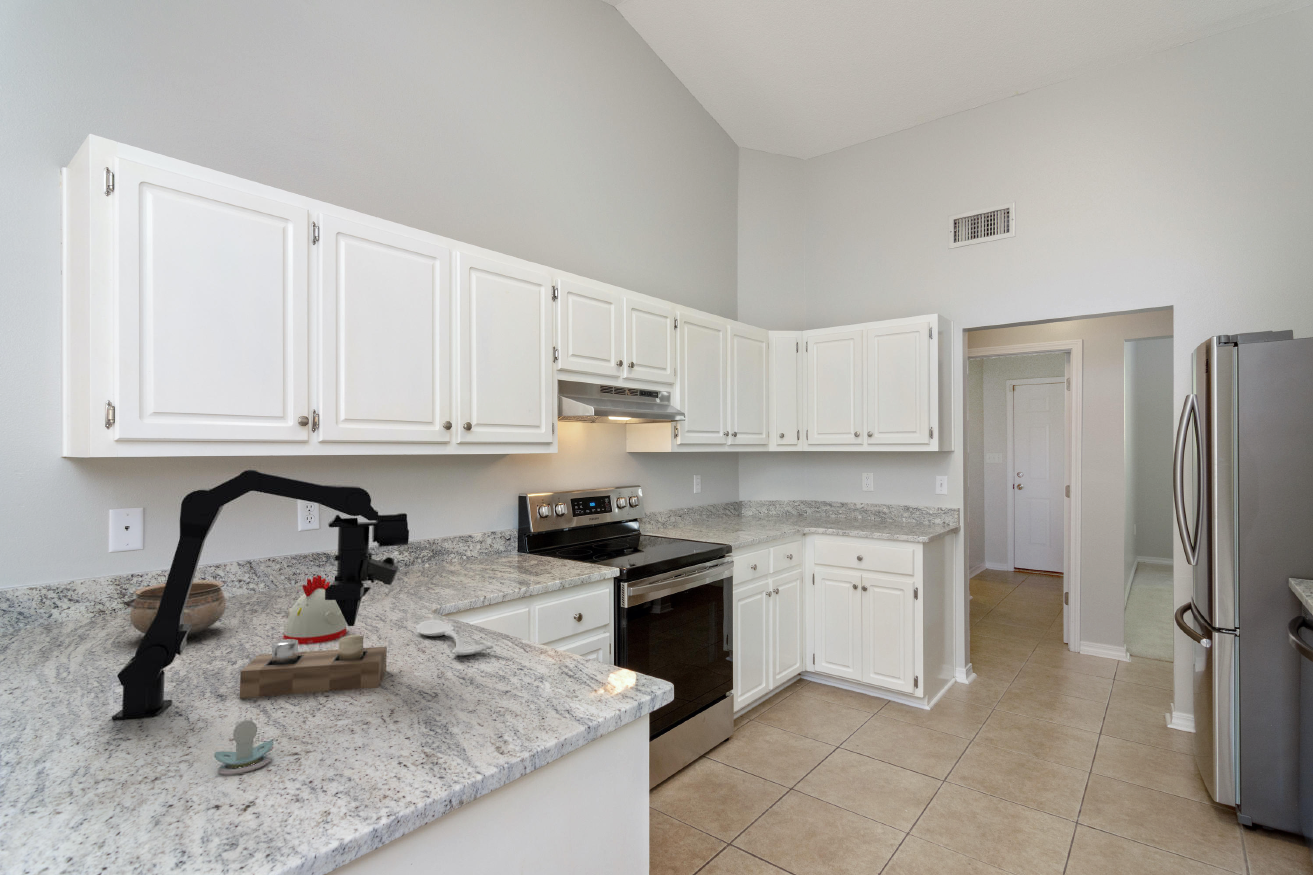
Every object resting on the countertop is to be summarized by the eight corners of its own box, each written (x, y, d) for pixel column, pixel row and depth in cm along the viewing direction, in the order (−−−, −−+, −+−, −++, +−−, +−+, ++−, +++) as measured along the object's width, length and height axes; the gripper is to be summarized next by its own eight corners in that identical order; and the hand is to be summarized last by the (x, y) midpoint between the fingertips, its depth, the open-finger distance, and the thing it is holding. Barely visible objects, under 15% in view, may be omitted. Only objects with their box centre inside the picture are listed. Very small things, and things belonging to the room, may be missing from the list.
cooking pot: (130, 631, 159) (132, 583, 159) (220, 620, 171) (222, 575, 171) (127, 657, 140) (129, 602, 140) (229, 642, 151) (231, 591, 152)
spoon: (455, 666, 137) (456, 650, 137) (410, 632, 162) (411, 619, 162) (494, 658, 143) (495, 643, 143) (445, 627, 168) (445, 614, 168)
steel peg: (293, 669, 122) (294, 644, 122) (268, 670, 121) (268, 646, 121) (300, 661, 127) (300, 638, 127) (275, 663, 125) (276, 639, 126)
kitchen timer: (269, 641, 153) (271, 579, 153) (313, 626, 166) (314, 569, 166) (317, 646, 149) (319, 583, 150) (358, 630, 163) (359, 572, 163)
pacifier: (274, 768, 92) (272, 751, 97) (275, 726, 92) (273, 710, 97) (213, 783, 88) (214, 764, 93) (214, 738, 88) (215, 721, 93)
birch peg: (360, 664, 125) (361, 640, 126) (336, 666, 124) (337, 642, 124) (364, 657, 130) (365, 634, 130) (341, 659, 129) (341, 636, 129)
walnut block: (378, 687, 124) (378, 661, 124) (239, 697, 117) (240, 671, 118) (386, 670, 133) (386, 646, 133) (258, 679, 127) (259, 654, 127)
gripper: (389, 554, 121) (387, 636, 120) (401, 541, 139) (400, 612, 138) (325, 556, 118) (322, 639, 117) (346, 542, 136) (344, 615, 135)
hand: (351, 625), depth 127 cm, fingers closed
